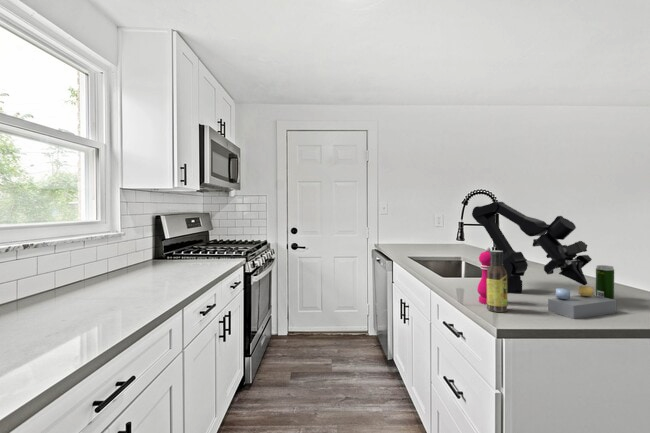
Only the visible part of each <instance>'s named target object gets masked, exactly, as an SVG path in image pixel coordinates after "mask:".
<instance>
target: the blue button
mask: <svg viewBox="0 0 650 433" xmlns="http://www.w3.org/2000/svg"><path fill="white" fill-rule="evenodd" d="M570 296H571V290H570V289H568V288H558V287H557V288H555V298H560V300H566V299H570Z"/></svg>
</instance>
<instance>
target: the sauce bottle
mask: <svg viewBox="0 0 650 433" xmlns="http://www.w3.org/2000/svg"><path fill="white" fill-rule="evenodd" d="M490 256H491V262H490V263H491V265H490V267H489V268H488V270H487V304H486V309H487V310H488V311H489V312H496V313H503V312H506V311H507V310H508V293H507V272H506V270H505V268H504V266H503V251H499V250H496V249H495V250H490Z"/></svg>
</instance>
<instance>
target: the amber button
mask: <svg viewBox="0 0 650 433" xmlns="http://www.w3.org/2000/svg"><path fill="white" fill-rule="evenodd" d="M578 295H583V297H586V298H587V297H589V296H593V295H594V287H593V286H589V285H578Z"/></svg>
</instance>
